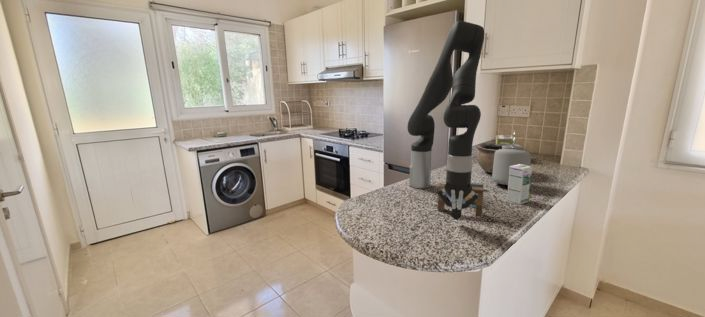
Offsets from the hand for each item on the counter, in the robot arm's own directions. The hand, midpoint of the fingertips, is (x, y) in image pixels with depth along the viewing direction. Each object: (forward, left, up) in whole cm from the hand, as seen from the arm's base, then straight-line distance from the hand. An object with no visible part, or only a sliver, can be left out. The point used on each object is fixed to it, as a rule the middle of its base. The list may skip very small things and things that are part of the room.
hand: (456, 218), depth 97 cm
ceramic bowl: (+13, +74, -2) cm, 75 cm away
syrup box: (+20, +31, -2) cm, 37 cm away
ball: (+4, +23, +1) cm, 23 cm away
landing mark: (0, +25, -2) cm, 25 cm away
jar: (+18, +53, -2) cm, 56 cm away
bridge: (0, +11, -2) cm, 11 cm away
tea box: (+17, +110, -2) cm, 111 cm away
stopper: (0, +41, -2) cm, 41 cm away
